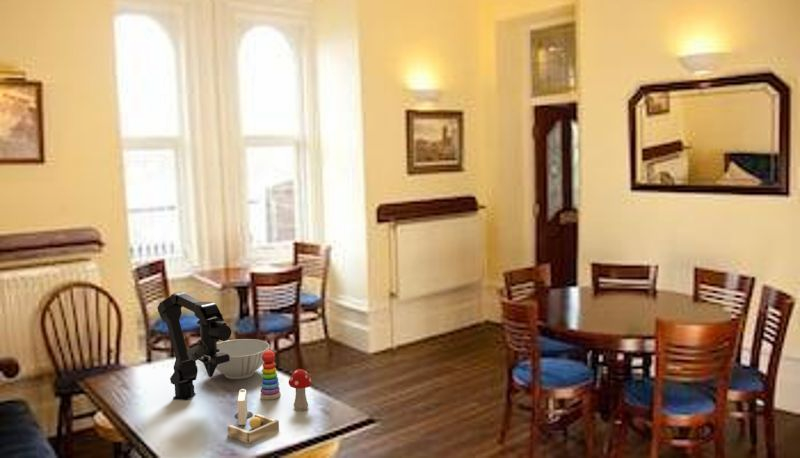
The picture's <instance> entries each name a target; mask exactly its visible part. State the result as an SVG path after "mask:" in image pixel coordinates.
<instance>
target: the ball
mask: <svg viewBox="0 0 800 458" xmlns="http://www.w3.org/2000/svg"><path fill="white" fill-rule="evenodd" d="M260 425H261V420H260V419H259V418H258V417H255V416H253V417H251V419H250V420H249V427H250V428H252V430H254V429H257V428H259V427H261V426H260Z"/></svg>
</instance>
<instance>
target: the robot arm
mask: <svg viewBox="0 0 800 458" xmlns="http://www.w3.org/2000/svg"><path fill="white" fill-rule="evenodd" d="M217 305H218V304H216V303H215V302H213V301H202V300H199V299H197V298H195V297H193V296H191V295H189V294H187V293H186V291H185V292H184V291H178V292H173V293H172V294H170V296H169V297H167V298H166V299H164V300H162V301H160V302H159V303H158V305H157V312H158V315H159V316H160V319H161V320H162V321H163V322H164V323H165V324H166V326H167V330H168V334H169V337H170V342H171V345H172V349H173V354H174V357H175V362H174V364H173V370H174V371H173V373H172V374H171V376H170V377H169V380H170V384H171V385H174V395H175V396H173V397H172V399H173V400H185V401H188V400H189V399H191V398H193V397H194V396H195V395H196V393H195V384H194V381H197V376H198V371H199V369H198V365H197V363H196V361H200V362H201V363H203V366H204V368H205V370H206V373H207V375H208V377H209V378H211V377H213V376H214V373H215V372H216V370H217V369H216V367H217V365H218V364H221V363H225V362H228V361H230V355H228V354H226V353H223V352H221V353H217V352H219V349H217V343H219V341H220V342H224V341H229V339H230V338H231V336H232V328H231V327H230V326H229V325H227V322H226V321H224V320H225V319H224V316H223V314H222V313H221V310H220V309H219V307H218V306H217ZM182 308H184V309H187V310H189V311H191V312H193V313H194V317H195V318H197V319H198V321H196V324H197V325H200V326H199V329H200V339H198V340H197V344H196V345H194V346H192V347H191V348H189V349H188V346H187V345H186V341H185V337H184V333H183V329H182V326H181V321H180V320H181V316H182V313H183V312H182Z"/></svg>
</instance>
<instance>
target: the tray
mask: <svg viewBox="0 0 800 458" xmlns="http://www.w3.org/2000/svg"><path fill="white" fill-rule="evenodd" d="M254 417H258V418H259V419H260V420H261V425H260V427H259V428H257V429H252V430H250V431H249V430H246V429H244V428H240V427H238V426H235V425H232V424H229V425H227V436H228V437H231V438H233V439H236V440H238V441H241V442H244V443H246V444H251V443H252V444H253V443H255V442H257V441H259V440H261V439H263V438H265V437H268V436H270V435H272V434H274V433H276V432H279V431H280V420H278V419H275V418H271V417H269V416H266V415H263V414H259V413H255V414H254Z"/></svg>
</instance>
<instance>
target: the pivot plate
mask: <svg viewBox="0 0 800 458" xmlns="http://www.w3.org/2000/svg"><path fill="white" fill-rule="evenodd" d="M252 416H253V412H251V411H248V410H247V417H246V419H249V418H252ZM234 418H235V419H238V412H236V413H235V414H234Z"/></svg>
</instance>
